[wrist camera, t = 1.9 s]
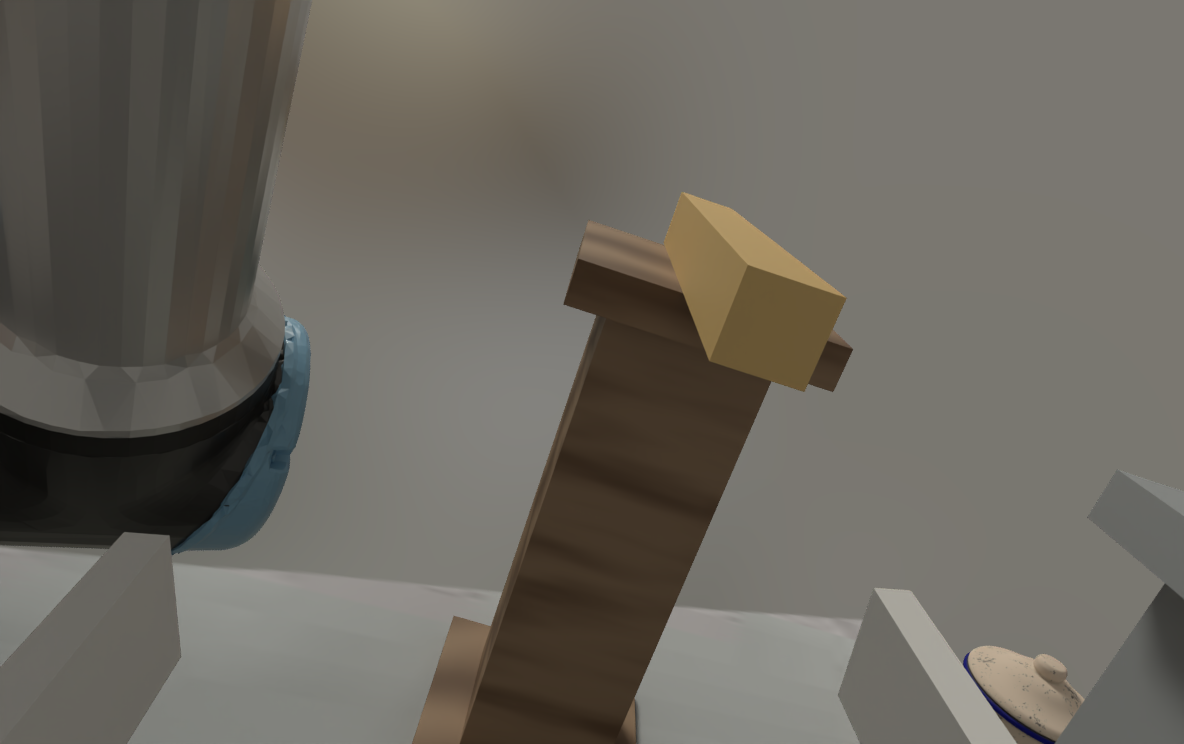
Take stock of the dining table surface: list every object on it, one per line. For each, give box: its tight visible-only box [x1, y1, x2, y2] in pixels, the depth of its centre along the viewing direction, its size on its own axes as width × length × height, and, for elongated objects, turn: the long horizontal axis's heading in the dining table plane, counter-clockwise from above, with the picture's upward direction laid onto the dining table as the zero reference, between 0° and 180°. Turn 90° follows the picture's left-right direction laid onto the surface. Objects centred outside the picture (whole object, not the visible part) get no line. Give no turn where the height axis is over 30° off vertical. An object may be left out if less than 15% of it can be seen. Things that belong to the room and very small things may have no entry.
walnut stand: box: [412, 220, 853, 744], centre depth 41 cm, size 13×13×30 cm
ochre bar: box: [664, 192, 846, 392], centre depth 32 cm, size 22×3×3 cm, turn 178°
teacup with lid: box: [963, 646, 1085, 744], centre depth 52 cm, size 12×9×12 cm
